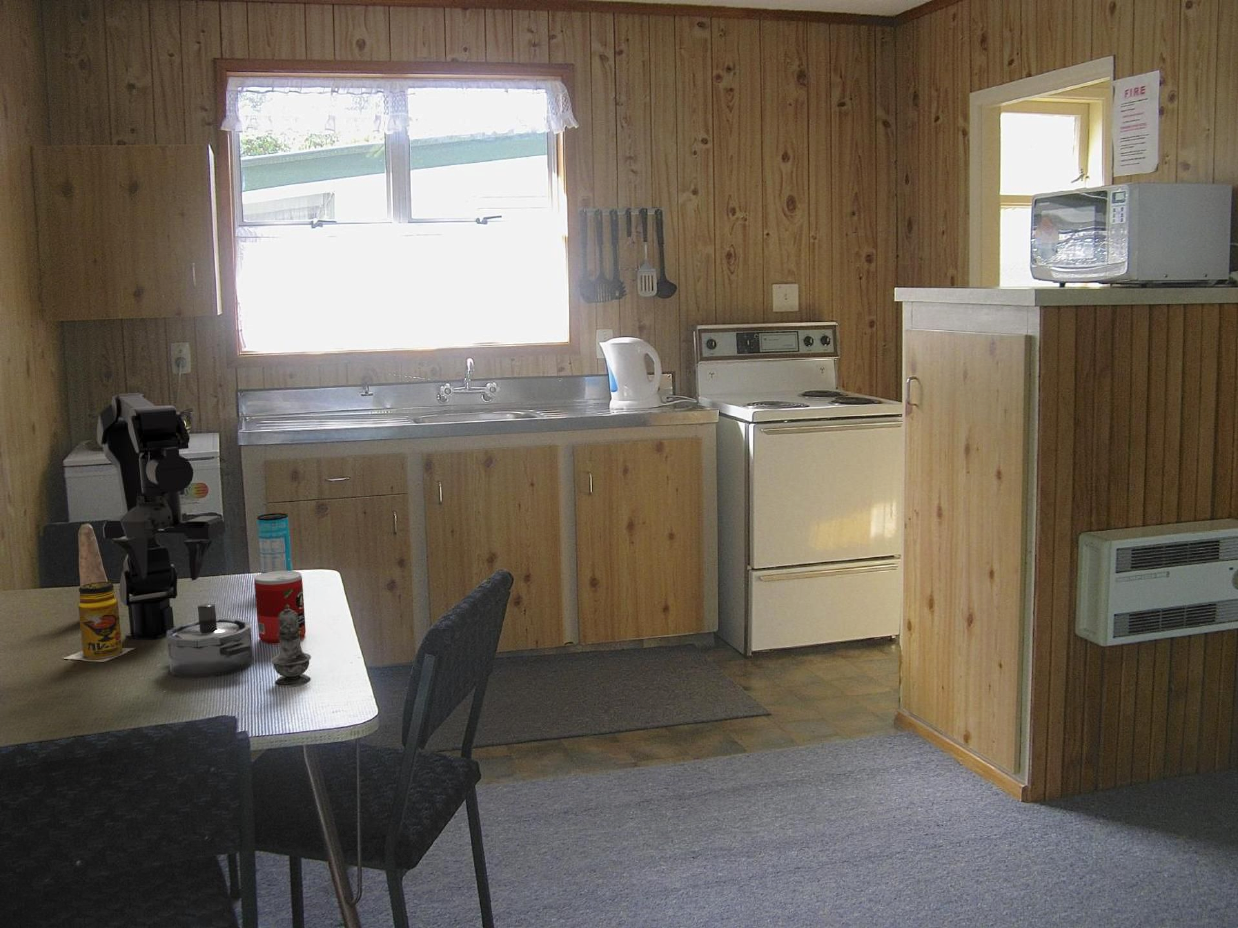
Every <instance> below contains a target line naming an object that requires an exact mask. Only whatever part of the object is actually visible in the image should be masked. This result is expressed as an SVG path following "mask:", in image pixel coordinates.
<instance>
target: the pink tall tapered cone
mask: <svg viewBox="0 0 1238 928" xmlns="http://www.w3.org/2000/svg"><path fill="white" fill-rule="evenodd" d="M77 534H78V570H79V571H78V573H79V583H80V584H79V585H80V587H81V586H83V585H85V584H88V583H94V582H109V581H108V578H107V575H106V572H105V569H104V566H103V560H102V557H101V553H100V549H99V548H100V547H99V544H98V540H97V537H96V534H95V531H94V528H93V526H92V525H91V524H90V523H85V524H82V525H80V527H79V530H78V533H77ZM80 587H79V588H80Z"/></svg>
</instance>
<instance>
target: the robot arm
mask: <svg viewBox="0 0 1238 928" xmlns="http://www.w3.org/2000/svg"><path fill="white" fill-rule="evenodd" d="M96 425H97V426H96V435H97V440H98V441H97V442H98V443H99V445H100V446H101V445H102V449H103V454H104V457H105V458H106V459H107V460H108V461H109V462H110V464H112V466H114V467H115V469H116V474H117V479H118V485H119V492H120V496H121V501H122V503H121V504H122V508H123V513H124V514H123V515H119V516H117V517H114V518H111V519H107V520H106V521H105V522H104V524H103V527H102V532H103V538H104V539H111V543H112V544H116V545H118V546H119V547H121V548H123V550H124V551H125V553H127V554H126V557H125V559H124V561H123V565H122V567H123V571H121V574H120V575H121V576H120V581H119V586H118V587H119V589H118V591H119V596H120V597H119V598H120V602H121V603H122V604H123V605H124V606H125V607H127V608H128V610H127V611H128V622H129V631H130V632H129V633H127V634H125V635H124V638H125V639H142V640H143V639H144V640H147V639H148V640H149V639H150V640H156V639H157V640H158V639H161V638H162V637H164V636H165V637H166V636H167V631H168V630H170V629H172V628H174V627H177V626H178V625H177V626H175V622H174V621H175V620H174V611H173V607H172V606H171V602H170V601H171V600H170V599H177V597H178V579H179V571H178V570H176V567H175V564H173V563H172V562H171V558H170V552H169V550H168V548H167V547H166V546H162V545H161V544H160V542H158V540H157V537H156V536H157V535H156V534H184V536H185V537H186V538H187V539H188V540H187V539H186V540H184V541H183V544H184V545H185V546H186V548H187V551H188V562H189V563H188V564H189V574H190V580H191V581H196V580H197V579H198V578H199V575H200V572H201V569H202V566H203V564H204V561H205V559H206V555H207V553H208V550H209V549H210V547H211V544H212V543H213V540H216V539H218V538H219V536H220V535H223V534H225V533H226V524H225V521H224V520H223V519H222V517H221V516H219V515H212V516H211V515H201V516H198V517H196V518H192V519H189V520H187V519H188V518H187V517H188V516H187V515H188V514H187V512H183V511H182V503H181V502H182V501H181V496H183V495H185V494H186V493H185V489H186V488H188V486H190V485H191V483H192V481H193V478H194V469H193V466H192V464H191V463H190V462H189V459H187V458H185V457H183V456H181V455H180V450H186V449H188V450H189V444H190V438H191V437H190V435H189V430H188V429H187V425H186V423H185V419H184V418H183V417H182V415H181V413H180V412H179V411H177V409H176V407H175V406H173V405H158V406H157V405H155V404H154V403H152V402H151V401H149V400H148V399H147V398H146V395H145V394H144V393H142V394H141V393H140V392H135V393H134V392H133V393H119V394H116V395H113V396H112V400H111V403H110V404H109V405H108V406H107V407H106V408H105V409H103V411H101V412H100V413H99V415H98V420H97V424H96ZM184 520H187V521H184ZM171 563H172V564H171Z"/></svg>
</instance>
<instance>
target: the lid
mask: <svg viewBox="0 0 1238 928" xmlns="http://www.w3.org/2000/svg"><path fill="white" fill-rule="evenodd" d="M197 615H198V621H199V625H195V626H191V627H188V628H185V629H183V630H181V631H180V632H179V633H178V638H181V639H204V638H213V637H220V636H224V635H228V634H232V633H236V632H238V631H239V626H238V625H236V624H233V623H224V622H220V623H217V622H216V619H217V613H216V604H215V603H204V604H200V605H197Z"/></svg>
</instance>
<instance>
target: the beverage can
mask: <svg viewBox="0 0 1238 928" xmlns="http://www.w3.org/2000/svg"><path fill="white" fill-rule="evenodd" d="M256 519H257V535H258V549H259V560H260V561H259V562H260V572H261V573H260V574H263V573H267V572H274V571H293V568H292V567H293V566H292V565H293V564H292V553H291V551H292V550H291V539H290V538H291V537H290V525H289V515H288V513H285V512H283V513H282V512H273V513H265V514H260V515H258V516H256Z"/></svg>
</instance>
